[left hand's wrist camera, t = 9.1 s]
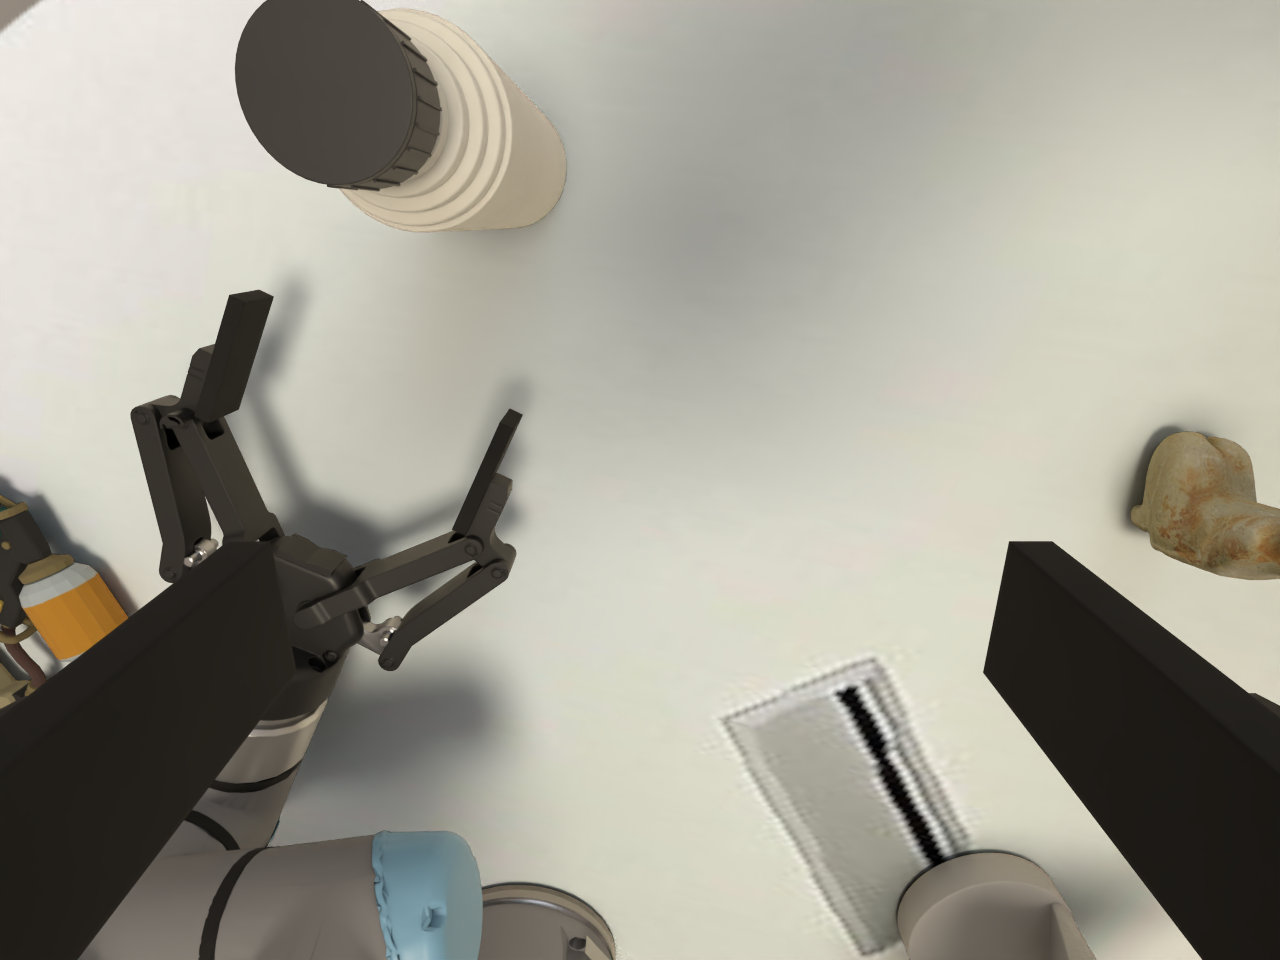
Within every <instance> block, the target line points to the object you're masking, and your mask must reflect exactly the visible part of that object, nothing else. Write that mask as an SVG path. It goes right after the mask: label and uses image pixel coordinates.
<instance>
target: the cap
mask: <svg viewBox="0 0 1280 960" xmlns="http://www.w3.org/2000/svg"><path fill="white" fill-rule="evenodd" d="M426 61H428V60H427V58H426V57H425V56H423V55H422V54H421V53H420V52H419V50H418V49H417V48H416V47H415V45H414V44H413V43H412V42H411V38H410V37H409V36H408V35H407V34H405V33H404V32H403V31H402V30H400V29H399V28H398V27H397V26H395V25H394V24H393V23H391V22H390V21H389V20H388V19H386V18H385V17H383V16H382V15H381V14H380V13H378V12H377V11H376V10H375V9H373V8H372V7H371V6H369V5H368V4H367V3H366V2H364V1H363V0H361V2H360V1H359V0H267V1H265V2H264V3H263V4H262V5H261V6H260V7H259V8H258V9H257V10H256V11H255V12H254V13H253V15H252V16H251V18H250V19H249V20H248V22H247V24H246V26H245V28H244V30H243V32H242V35H241V38H240V40H239V44H238V48H237V53H236V62H235V80H236V87H237V94H238V97H239V101H240V105H241V108H242V111H243V113H244V116H245V118H246V120H247V122H248V124H249V126H250V128H251V130H252V132H253V133H254V135H255V136H256V138H257V139H258V141H259V142H260V143H261V145H262V146H263V147H264V148H265V149H266V151H267V152H268V153H269V154H270V155H271V156H272V157H273V158H274V159H275V160H276V161H278V162H279V163H280V164H281V165H283V166H284V167H285V168H287V169H288V170H290V171H292V172H293V173H295V174H297V175H299V176H301V177H303V178H305V179H307V180H310V181H314V182H317V183H321V184H327V187H331V188H340V189H349V190H358V189H360V190H368V191H377V192H378V191H380V189H383V188H388V187H392V186H400V183H402V182H404V181H405V180H407V179H409V178H410V177H412V176H413V175H414V174H415V175H417V174H418V172H417V171H419V169H420V168H421V167H422V166H423V165H424V164H425V162H426V161H427V159H428V158H429V157H431V156H432V155H431V152H432V150H433V148H434V146H435V143H436V140H437V137H438V136H439V135H440V132H439V127H440V111H442V108H441V107H440V100H439V95H438V90H437V86H438V83H437V82H436V81H435V80H434V77H433V75H432V72H431V70H430V68H429V66H428V64H427V62H426Z"/></svg>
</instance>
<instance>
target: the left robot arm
mask: <svg viewBox="0 0 1280 960" xmlns="http://www.w3.org/2000/svg"><path fill="white" fill-rule="evenodd" d="M296 673H297V671H296V666H295V661H294V656H293V651H292V646H291V641H290V636H289V631H288V626H287V621H286V616H285V610H284V605H283V600H282V595H281V590H280V585H279V580H278V575H277V570H276V565H275V560H274V555H273V550H272V545H271V541H228V542H226V543H225V544H224V545H223V546H221V547H220V548H219V549H217V550H216V551H215V552H213V553H212V554H211V555H210V556H208V557H207V558H206V559H204V560H203V561H202V562H201V563H199V564H198V565H197V566H195V567H194V568H193V569H191V570H190V571H189V572H188V573H186V574H185V575H184V576H182V577H181V578H180V579H179V580H177V581H176V582H175V583H173V584H172V585H171V586H169V587H168V588H167V589H166V590H164V591H163V592H162V593H160V594H159V595H158V596H157V597H155V598H154V599H153V600H151V601H150V602H149V603H147V604H146V605H145V606H144V607H142V608H141V609H140V610H138V611H137V612H136V613H135V614H133V615H132V616H131V617H129V618H128V619H127V620H125V621H124V622H123V623H122V624H120V625H119V626H118V627H116V628H115V629H114V630H113V631H111V632H110V633H109V634H107V635H106V636H105V637H103V638H102V639H101V640H100V641H98V642H97V643H96V644H94V645H93V646H92V647H91V648H89V649H88V650H87V651H85V652H84V653H83V654H81V655H80V656H79V657H78V658H76V659H75V660H74V661H72V662H71V663H70V664H69V665H67V666H66V667H65V668H63V669H62V670H61V671H59V672H58V673H57V674H56V675H54V676H53V677H52V678H50V679H49V680H48V681H47V682H45V683H44V684H43V685H41V686H40V687H39V688H37V689H36V690H35V691H34V692H32V693H31V694H30V695H28V696H24V697H22V698H20V699H18V700H16V701H14V702H13V703H11V704H9V705H7V706H5V707H3V708H1V709H0V960H78V959H79V957H80V956H81V955H82V953H83V952H84V951H85V949H86V948H87V947H88V945H89V944H90V943H91V942H92V940H93V939H94V938H95V936H96V935H97V934H98V932H99V931H100V930H101V928H102V927H103V926H104V924H105V923H106V922H107V921H108V919H109V918H110V917H111V915H112V914H113V913H114V911H115V910H116V909H117V907H118V906H119V905H120V904H121V902H122V901H123V900H124V898H125V897H126V896H127V894H128V893H129V892H130V890H131V889H132V888H133V886H134V885H135V884H136V883H137V881H138V880H139V879H140V877H141V876H142V875H143V873H144V872H145V871H146V869H147V868H148V867H149V866H150V864H151V863H152V862H153V860H154V859H155V858H156V856H157V855H158V854H159V852H160V851H161V850H162V848H163V847H164V846H165V845H166V843H167V842H168V841H169V839H170V838H171V837H172V835H173V834H174V833H175V831H176V830H177V829H178V828H179V826H180V825H181V824H182V822H183V821H184V820H185V818H186V817H187V816H188V814H189V813H190V812H191V810H192V809H193V808H194V807H195V805H196V804H197V803H198V801H199V800H200V799H201V797H202V796H203V795H204V793H205V792H206V791H207V790H208V788H209V787H210V786H211V784H212V783H213V782H214V780H215V779H216V778H217V776H218V775H219V774H220V772H221V771H222V770H223V769H224V767H225V766H226V765H227V763H228V762H229V761H230V759H231V758H232V757H233V755H234V754H235V753H236V752H237V750H238V749H239V748H240V746H241V745H242V744H243V742H244V741H245V740H246V738H247V737H248V736H249V735H250V733H251V732H252V731H253V729H254V728H255V727H256V725H257V724H258V723H259V721H260V720H261V719H262V717H263V716H264V715H265V714H266V712H267V711H268V710H269V708H270V707H271V706H272V704H273V703H274V702H275V700H276V699H277V698H278V697H279V695H280V694H281V693H282V691H283V690H284V689H285V687H286V686H287V685H288V683H289V682H290V681H291V679H292V678H293V677H294V676H295V674H296ZM983 673H984V674H985V676H986V677H987V678H988V679H989V681H990V682H991V683H992V685H993V686H994V687H995V689H996V690H997V691H998V693H999V694H1000V695H1001V697H1002V698H1003V699H1004V700H1005V702H1006V703H1007V704H1008V706H1009V707H1010V708H1011V710H1012V711H1013V712H1014V714H1015V715H1016V716H1017V717H1018V719H1019V720H1020V721H1021V723H1022V724H1023V725H1024V727H1025V728H1026V729H1027V731H1028V732H1029V733H1030V735H1031V736H1032V737H1033V738H1034V740H1035V741H1036V742H1037V744H1038V745H1039V746H1040V748H1041V749H1042V750H1043V752H1044V753H1045V754H1046V755H1047V757H1048V758H1049V759H1050V761H1051V762H1052V763H1053V765H1054V766H1055V767H1056V769H1057V770H1058V771H1059V773H1060V774H1061V775H1062V776H1063V778H1064V779H1065V780H1066V782H1067V783H1068V784H1069V786H1070V787H1071V788H1072V790H1073V791H1074V792H1075V793H1076V795H1077V796H1078V797H1079V799H1080V800H1081V801H1082V803H1083V804H1084V805H1085V807H1086V808H1087V809H1088V810H1089V812H1090V813H1091V814H1092V816H1093V817H1094V818H1095V820H1096V821H1097V822H1098V824H1099V825H1100V826H1101V828H1102V829H1103V830H1104V831H1105V833H1106V834H1107V835H1108V837H1109V838H1110V839H1111V841H1112V842H1113V843H1114V845H1115V846H1116V847H1117V848H1118V850H1119V851H1120V852H1121V854H1122V855H1123V856H1124V858H1125V859H1126V860H1127V862H1128V863H1129V864H1130V866H1131V867H1132V868H1133V869H1134V871H1135V872H1136V873H1137V875H1138V876H1139V877H1140V879H1141V880H1142V881H1143V883H1144V884H1145V885H1146V886H1147V888H1148V889H1149V890H1150V892H1151V893H1152V894H1153V896H1154V897H1155V898H1156V900H1157V901H1158V902H1159V904H1160V905H1161V906H1162V907H1163V909H1164V910H1165V911H1166V913H1167V914H1168V915H1169V917H1170V918H1171V919H1172V921H1173V922H1174V923H1175V924H1176V926H1177V927H1178V928H1179V930H1180V931H1181V932H1182V934H1183V935H1184V936H1185V938H1186V939H1187V940H1188V942H1189V943H1190V944H1191V945H1192V947H1193V948H1194V949H1195V951H1196V952H1197V953H1198V955H1199V956H1200V957H1201V959H1202V960H1280V706H1279V705H1277V704H1275V703H1273V702H1271V701H1269V700H1268V699H1266V698H1264V697H1262V696H1260V695H1258V694H1256V693H1248V692H1246V691H1245V690H1244V689H1243V688H1241V687H1240V686H1239V685H1237V684H1236V683H1235V682H1233V681H1232V680H1231V679H1230V678H1228V677H1227V676H1226V675H1224V674H1223V673H1222V672H1221V671H1219V670H1218V669H1217V668H1215V667H1214V666H1213V665H1211V664H1210V663H1209V662H1208V661H1206V660H1205V659H1204V658H1202V657H1201V656H1200V655H1199V654H1197V653H1196V652H1195V651H1193V650H1192V649H1191V648H1189V647H1188V646H1187V645H1186V644H1184V643H1183V642H1182V641H1180V640H1179V639H1178V638H1177V637H1175V636H1174V635H1173V634H1171V633H1170V632H1169V631H1167V630H1166V629H1165V628H1164V627H1162V626H1161V625H1160V624H1158V623H1157V622H1156V621H1155V620H1153V619H1152V618H1151V617H1149V616H1148V615H1147V614H1145V613H1144V612H1143V611H1142V610H1140V609H1139V608H1138V607H1136V606H1135V605H1134V604H1133V603H1131V602H1130V601H1129V600H1127V599H1126V598H1125V597H1123V596H1122V595H1121V594H1120V593H1118V592H1117V591H1116V590H1114V589H1113V588H1112V587H1111V586H1109V585H1108V584H1107V583H1105V582H1104V581H1103V580H1101V579H1100V578H1099V577H1098V576H1096V575H1095V574H1094V573H1092V572H1091V571H1090V570H1089V569H1087V568H1086V567H1085V566H1083V565H1082V564H1081V563H1079V562H1078V561H1077V560H1076V559H1074V558H1073V557H1072V556H1070V555H1069V554H1068V553H1067V552H1065V551H1064V550H1063V549H1061V548H1060V547H1059V546H1057V545H1056V544H1055V543H1054V542H1052V541H1009V545H1008V550H1007V555H1006V560H1005V565H1004V570H1003V575H1002V580H1001V585H1000V590H999V595H998V600H997V605H996V610H995V616H994V621H993V626H992V631H991V636H990V641H989V646H988V651H987V656H986V661H985V666H984V671H983Z"/></svg>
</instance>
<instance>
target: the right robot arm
mask: <svg viewBox="0 0 1280 960" xmlns="http://www.w3.org/2000/svg"><path fill="white" fill-rule="evenodd" d="M272 301H273V296H271V295H269V294H267V293H265V292H263V291H261V290H255V291H249V292H244V293H238V294H232V295H229V298H228V301H227V305H226V308H225V312H224V315H223V319H222V322H221V325H220V329H219V332H218V336H217V339H216V343H215V344H213V345H210V346H206V347H203V348H199V349H198V350H197V351H196V353H195V354H194V355H193V356H192V359H191V363H190V367H189V370H188V374H187V377H186V381H185V384H184V388H183V392H182V395H181V398H178V397H176V396H173V395H168V396H165V397H162V398H159V399H156V400H154V401H151V402H148V403H145V404H143V405H140V406H137V407H135V408H134V409H132V411H131V421H132V425H133V429H134V433H135V436H136V440H137V444H138V448H139V452H140V456H141V460H142V464H143V468H144V472H145V475H146V479H147V483H148V487H149V491H150V495H151V499H152V503H153V507H154V511H155V515H156V518H157V522H158V526H159V530H160V534H161V538H162V542H163V546H162V553H161V560H160V567H159V574H160V576H161V577H162V578H163V579H164V580H165V581H167V582H169V583H175V582H176V581H177V580H179V579H180V578H181V577H182V576H184V575H185V574H186V573H188V572H189V571H190V570H191V569H193V568H194V567H195V566H197V565H198V564H199V563H201V562H202V561H203V560H204V559H206V558H207V557H208V556H210V555H211V554H212V553H213V552H215V551H216V550H217V547H218V541H217V540H215V539H211V521H210V516H209V511H208V507H207V503H206V499H207V501H208V503H209V505H210V507H211V509H212V511H213V513H214V515H215V517H216V519H217V521H218V523H219V525H220V527H221V529H222V531H223V534H224V537H223V541H222V545H224V544H225V543H226V542H228V541H256V540H258V539H259V541H271V545H272V550H273V555H274V560H275V565H276V570H277V575H278V580H279V585H280V590H281V595H282V600H283V605H284V610H285V616H286V621H287V626H288V631H289V636H290V641H291V646H292V651H293V656H294V661H295V666H296V671H297V673H296V674H295V676H294V677H293V678H292V679H291V681H290V682H289V683H288V685H287V686H286V687H285V689H284V690H283V691H282V693H281V694H280V695H279V697H278V698H277V699H276V700H275V702H274V703H273V704H272V706H271V707H270V708H269V710H268V711H267V712H266V714H265V715H264V716H263V717H262V719H261V720H260V721H259V723H258V724H257V725H256V727H255V728H254V729H253V731H252V732H251V733H250V735H249V736H248V737H247V738H246V740H245V741H244V742H243V744H242V745H241V746H240V748H239V749H238V750H237V752H236V753H235V754H234V755H233V757H232V758H231V759H230V761H229V762H228V763H227V765H226V766H225V767H224V769H223V770H222V771H221V772H220V774H219V775H218V776H217V778H216V779H215V780H214V782H213V783H212V784H211V786H210V787H209V788H208V790H207V791H206V792H205V793H204V795H203V796H202V797H201V799H200V800H199V801H198V803H197V804H196V805H195V807H194V808H193V809H192V810H191V812H190V813H189V814H188V816H187V817H186V818H185V820H184V821H183V822H182V824H181V825H180V826H179V828H178V829H177V830H176V831H175V833H174V834H173V835H172V837H171V838H170V839H169V841H168V842H167V843H166V845H165V846H164V847H163V848H162V850H161V851H160V852H159V854H158V855H157V856H156V858H155V859H154V860H153V862H152V863H151V864H150V866H149V867H148V868H147V869H146V871H145V872H144V873H143V875H142V876H141V877H140V879H139V880H138V881H137V883H136V884H135V885H134V886H133V888H132V889H131V890H130V892H129V893H128V894H127V896H126V897H125V898H124V900H123V901H122V902H121V904H120V905H119V906H118V907H117V909H116V910H115V911H114V913H113V914H112V915H111V917H110V918H109V919H108V921H107V922H106V923H105V924H104V926H103V927H102V928H101V930H100V931H99V932H98V934H97V935H96V936H95V938H94V939H93V940H92V942H91V943H90V944H89V945H88V947H87V948H86V949H85V951H84V952H83V953H82V955H81V956H80V957H79V959H78V960H615V945H614V941H613V938H612V935H611V933H610V931H609V929H608V927H607V926H606V924H605V923H604V922H603V920H602V919H601V918H600V917H599V916H598V915H597V914H596V913H595V912H594V911H593V910H592V909H591V908H589V907H588V906H586V905H585V904H584V903H582V902H580V901H579V900H577V899H575V898H573V897H571V896H569V895H567V894H564V893H561V892H559V891H555V890H552V889H548V888H544V887H538V886H531V885H505V886H497V887H492V888H488V889H484V890H482V887H481V880H480V873H479V869H478V865H477V862H476V859H475V857H474V856H473V854H472V851H471V849H470V847H469V845H468V843H467V842H466V841H465V840H464V839H463V838H462V837H461V836H460V835H458V834H456V833H453V832H448V831H423V832H389V831H385V830H384V831H381V832H379V833H377V834H376V835H368V836H360V837H352V838H344V839H337V840H329V841H321V842H313V843H305V844H297V845H289V846H281V847H280V846H277V847H267V845H268V844H269V842H270V841H271V840H272V839H273V837H274V835H275V833H276V830H277V828H278V825H279V822H280V821H279V818H280V814H281V811H282V809H283V806H284V804H285V801H286V799H287V796H288V794H289V791H290V788H291V786H292V783H293V781H294V778H295V776H296V773H297V771H298V768H299V766H300V763H301V761H302V759H303V757H304V755H305V753H306V751H307V748H308V745H309V743H310V741H311V738H312V736H313V734H314V731H315V729H316V727H317V724H318V722H319V720H320V718H321V715H322V713H323V711H324V708H325V706H326V704H327V700H328V697H329V696H330V694H331V692H332V690H333V688H334V685H335V683H336V680H337V678H338V676H339V673H340V671H341V668H342V666H343V664H344V661H345V659H346V656H347V654H348V652H349V649H350V647H352V646H353V645H355V644H357V643H358V644H360V645H362V646H364V647H366V648H368V649H369V650H371V651H373V652H375V653H377V654H379V655H380V657H379V660H378V662H379V665H380V667H381V668H383V669H384V670H387V671H394V670H396V669H397V668H398V667H399V665H400V664H401V662H402V661H403V659H404V658H405V656H406V654H407V653H408V651H409V650H410V648H411V646H412V645H414V644H415V643H417V642H418V641H420V640H421V639H422V638H424V637H425V636H427V635H428V634H430V633H431V632H432V631H434V630H435V629H437V628H438V627H440V626H441V625H442V624H444V623H445V622H447V621H448V620H450V619H451V618H452V617H454V616H455V615H457V614H458V613H460V612H461V611H462V610H464V609H465V608H467V607H468V606H470V605H471V604H472V603H474V602H475V601H477V600H478V599H480V598H481V597H482V596H484V595H485V594H487V593H488V592H490V591H491V590H492V589H494V588H495V587H497V586H498V585H500V584H501V583H502V582H504V581H505V580H506V579H507V578H508V575H509V573H510V570H511V568H512V565H513V563H514V560H515V557H516V550H515V548H514V547H513V546H512V545H510V544H504V543H503V542H502V541H501V540H499V538H498V537H497V536H496V534H495V525H496V523H497V521H498V518H499V516H500V514H501V512H502V510H503V508H504V506H505V503H506V501H507V499H508V497H509V495H510V493H511V491H512V480H511V479H509V478H507V477H505V476H503V475H500V474H498V473H496V472H497V470H498V468H499V466H500V464H501V461H502V459H503V457H504V455H505V453H506V451H507V448H508V446H509V444H510V442H511V440H512V437H513V435H514V433H515V431H516V429H517V426H518V424H519V422H520V420H521V418H522V414H520V413H518V412H516V411H514V410H512V409H509V410H508V412H507V413H506V414H505V416H504V417H503V419H502V420H501V421H500V423H499V425H498V428H497V430H496V432H495V434H494V437H493V439H492V441H491V443H490V446H489V448H488V450H487V452H486V455H485V457H484V459H483V461H482V464H481V466H480V468H479V470H478V473H477V475H476V477H475V479H474V481H473V484H472V486H471V488H470V490H469V493H468V495H467V497H466V499H465V502H464V504H463V506H462V508H461V511H460V513H459V515H458V517H457V520H456V522H455V524H454V526H453V529H452V530H454V531H451V532H449V533H446V534H444V535H441V536H439V537H437V538H434V539H432V540H429V541H427V542H424V543H422V544H419V545H417V546H414V547H412V548H409V549H407V550H404V551H402V552H399V553H397V554H395V555H392V556H390V557H387V558H385V559H382V560H380V559H376V560H373V561H371V562H368V563H366V564H363V565H361V566H358V567H356V568H353V566H352V565H351V564H350V563H349V562H348V561H347V560H346V557H347V556H346V555H344V554H342V553H339V552H337V551H335V550H329V549H324V548H320V547H318V546H317V545H315V544H314V543H312V542H311V541H310V540H308V539H306V538H304V537H302V536H299V535H297V534H293V535H292V536H291V537H290V536H285V535H284V533H283V530H282V528H281V526H280V524H279V522H278V520H277V518H276V516H275V515H274V514H273V513H270V512H268V510H267V509H266V506H265V504H264V502H263V500H262V498H261V496H260V493H259V491H258V489H257V487H256V485H255V483H254V480H253V478H252V476H251V474H250V472H249V469H248V467H247V465H246V463H245V461H244V459H243V456H242V454H241V452H240V450H239V448H238V446H237V443H236V441H235V439H234V437H233V435H232V433H231V430H230V428H229V426H228V424H227V422H226V419H225V417H224V416H225V415H227V414H230V413H232V412H234V411H236V410H238V409H239V407H240V404H241V400H242V397H243V394H244V391H245V388H246V384H247V381H248V378H249V375H250V371H251V368H252V365H253V362H254V359H255V355H256V352H257V349H258V346H259V343H260V339H261V336H262V333H263V330H264V326H265V323H266V320H267V317H268V314H269V310H270V307H271V304H272ZM205 497H206V498H205ZM472 560H475V561H476V562H475V563H474V564H472V565H471V566H469V567H468V568H467V569H465V570H464V571H462V572H461V573H460V574H458V575H457V576H455V577H454V578H453V579H451V580H450V581H448V582H447V583H446V584H444V585H443V586H441V587H440V588H439V589H437V590H436V591H434V592H433V593H432V594H430V595H429V596H427V597H426V598H425V599H423V600H422V601H420V602H419V603H418V604H416V605H415V606H414V607H413V608H411V609H410V610H409V612H408V613H407V614H406V615H405V616H404V618H403V619H402V618H401V617H399V616H395V617H394V618H389V619H387V620H386V621H384V622H383V623H381V624H373V623H371V617H370V613H369V610H368V607H367V605H368V604H370V603H371V602H372V601H373V600H375V599H376V598H378V597H381V596H383V595H386V594H388V593H391V592H393V591H396V590H399V589H401V588H404V587H406V586H409V585H411V584H414V583H416V582H419V581H421V580H424V579H426V578H429V577H431V576H434V575H436V574H439V573H441V572H444V571H446V570H449V569H451V568H454V567H456V566H459V565H462V564H464V563H467V562H469V561H472Z"/></svg>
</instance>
